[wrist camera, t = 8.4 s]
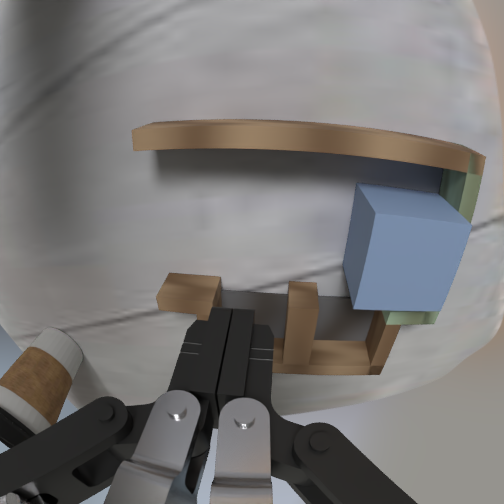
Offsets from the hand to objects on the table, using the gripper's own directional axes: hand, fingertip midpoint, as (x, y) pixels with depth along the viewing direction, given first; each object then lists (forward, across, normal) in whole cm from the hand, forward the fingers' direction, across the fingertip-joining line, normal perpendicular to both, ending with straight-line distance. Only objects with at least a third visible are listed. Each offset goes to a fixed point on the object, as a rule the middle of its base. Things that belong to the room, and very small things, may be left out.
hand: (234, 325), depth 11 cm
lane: (+10, -3, +3) cm, 11 cm away
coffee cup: (+11, +22, +18) cm, 31 cm away
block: (+11, -9, +1) cm, 14 cm away
